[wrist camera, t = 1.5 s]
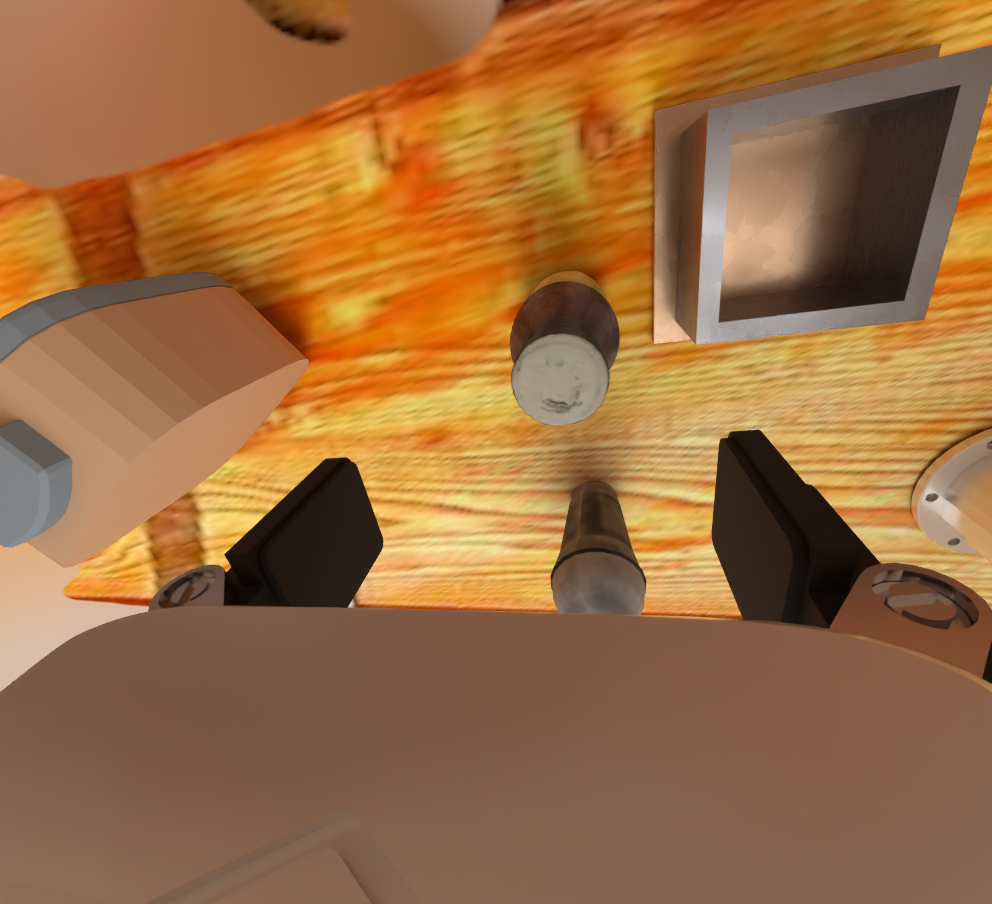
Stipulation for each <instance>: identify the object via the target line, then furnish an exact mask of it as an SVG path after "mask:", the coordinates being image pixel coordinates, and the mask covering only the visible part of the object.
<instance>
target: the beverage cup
mask: <svg viewBox="0 0 992 904" xmlns="http://www.w3.org/2000/svg"><path fill="white" fill-rule="evenodd" d="M551 587H552V591H553V598H554V602H555V605H556V607H557V609H558V611H559V613H583V614H617V615H640V614H641V612H642V610H643V607H644V598H645V591H646V579H645V576H644V573H643V571H642V569H641V568H640V566H639V564H638V561H637V559H636V557H635V555H634V553H633V550H632V546H631V543H630V539H629V536H628V532H627V528H626V525H625V521H624V517H623V514H622V510H621V507H620V504H619V501H618V499H617V495H616V493H615V491H614V490H613V489H612V487H611V486H609V485H607V484H606V483H603V482H599V481H589V482H586V483H583V484H581V485H580V486H578V487H577V488H576V489H575V490H574V492H573V495H572V500H571V502H570V505H569V510H568V515H567V520H566V525H565V530H564V535H563V540H562V545H561V550H560V553H559V556H558V559H557V561H556V564H555V566H554V568H553V571H552V573H551Z"/></svg>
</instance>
